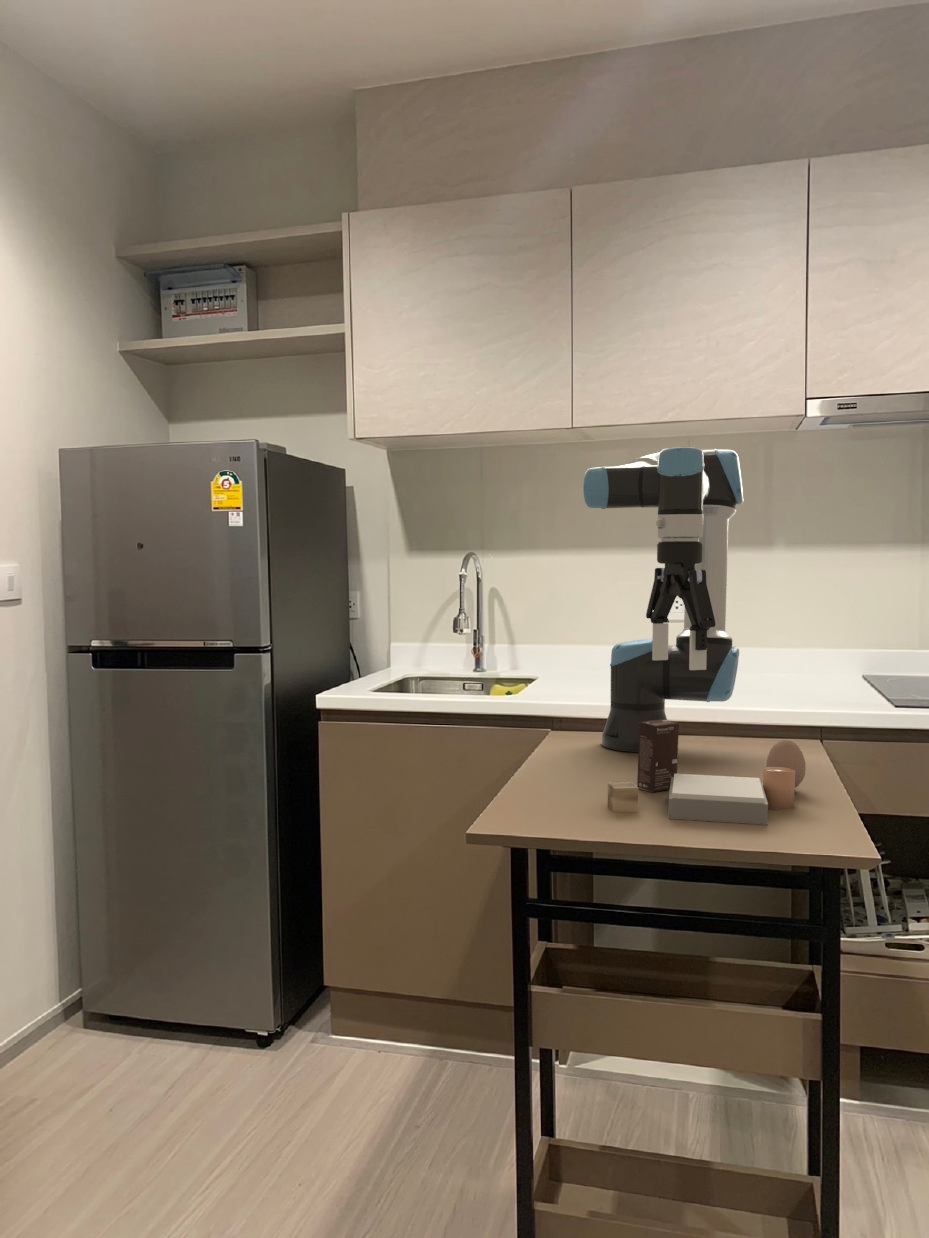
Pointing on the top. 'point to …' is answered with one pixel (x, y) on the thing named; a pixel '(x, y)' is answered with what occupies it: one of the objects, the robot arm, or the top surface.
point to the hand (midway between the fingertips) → (678, 664)
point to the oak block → (623, 797)
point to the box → (657, 754)
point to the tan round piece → (779, 787)
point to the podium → (718, 799)
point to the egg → (787, 758)
